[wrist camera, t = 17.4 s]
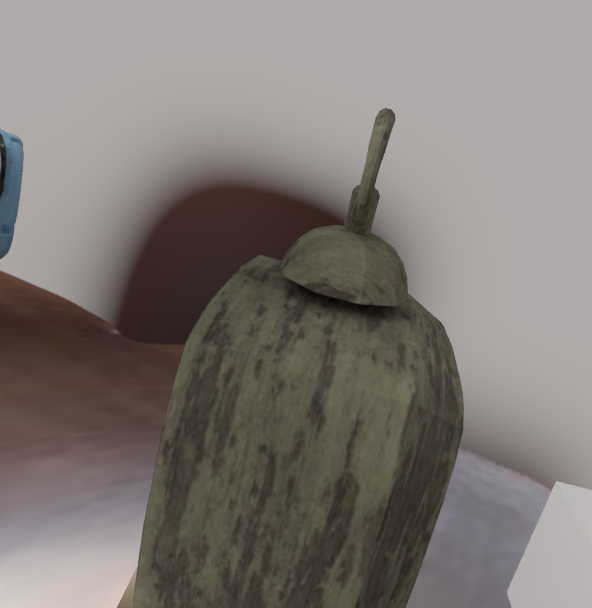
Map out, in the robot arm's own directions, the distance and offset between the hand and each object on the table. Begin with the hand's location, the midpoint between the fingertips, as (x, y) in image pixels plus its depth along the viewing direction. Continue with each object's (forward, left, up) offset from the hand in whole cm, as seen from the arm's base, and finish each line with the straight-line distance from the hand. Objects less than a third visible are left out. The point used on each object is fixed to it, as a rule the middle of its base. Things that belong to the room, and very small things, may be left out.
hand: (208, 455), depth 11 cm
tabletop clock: (-12, +3, -18) cm, 22 cm away
